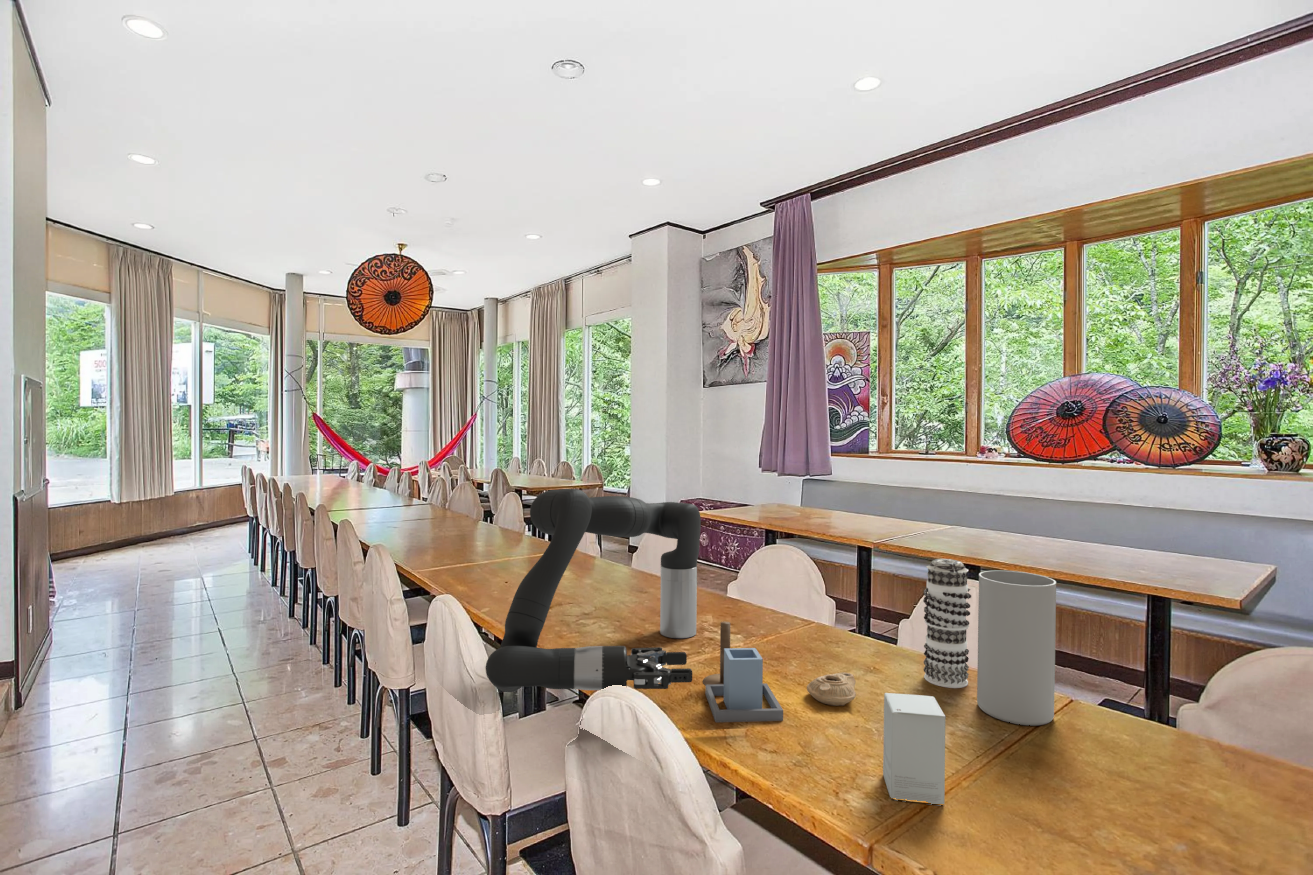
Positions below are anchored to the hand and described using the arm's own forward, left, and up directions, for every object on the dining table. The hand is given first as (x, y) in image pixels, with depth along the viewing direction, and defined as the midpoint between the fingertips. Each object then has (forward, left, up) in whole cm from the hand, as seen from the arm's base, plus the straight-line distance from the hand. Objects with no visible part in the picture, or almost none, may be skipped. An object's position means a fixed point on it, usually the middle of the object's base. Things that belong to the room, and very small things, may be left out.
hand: (689, 666), depth 118 cm
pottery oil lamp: (-16, +25, -9) cm, 31 cm away
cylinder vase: (-23, +56, -9) cm, 61 cm away
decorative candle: (-35, +45, -9) cm, 58 cm away
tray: (-4, +9, -9) cm, 13 cm away
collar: (-4, +9, -8) cm, 13 cm away
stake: (-14, +3, -9) cm, 17 cm away
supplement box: (+12, +38, -9) cm, 41 cm away
